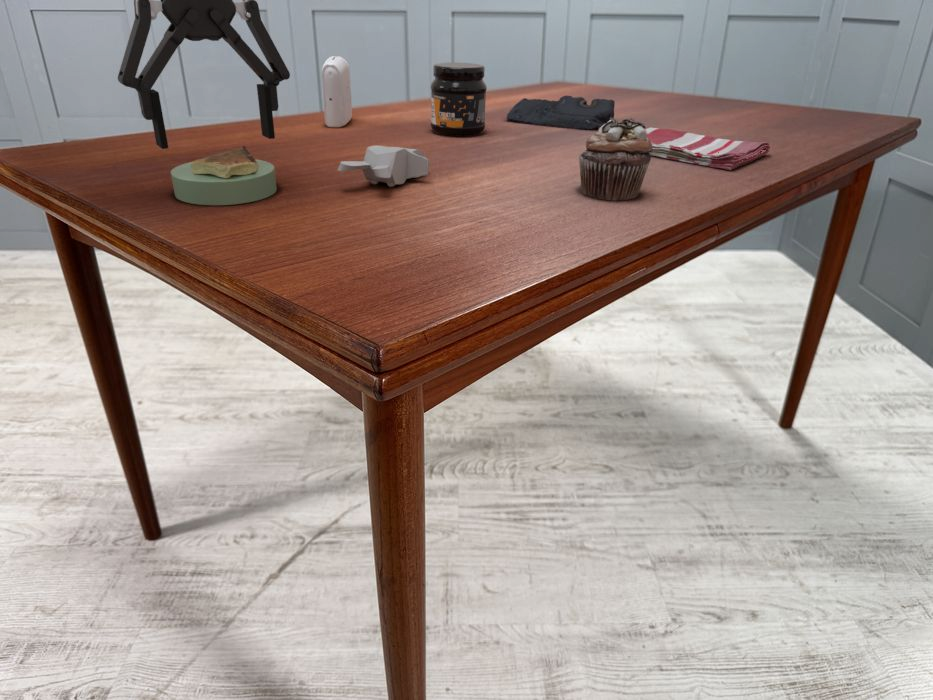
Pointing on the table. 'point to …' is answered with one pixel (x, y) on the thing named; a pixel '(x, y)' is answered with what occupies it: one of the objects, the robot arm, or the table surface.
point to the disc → (223, 186)
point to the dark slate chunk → (563, 112)
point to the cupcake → (615, 161)
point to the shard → (226, 163)
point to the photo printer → (336, 92)
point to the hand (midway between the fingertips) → (217, 141)
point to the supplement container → (458, 99)
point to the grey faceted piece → (389, 164)
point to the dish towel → (703, 148)
